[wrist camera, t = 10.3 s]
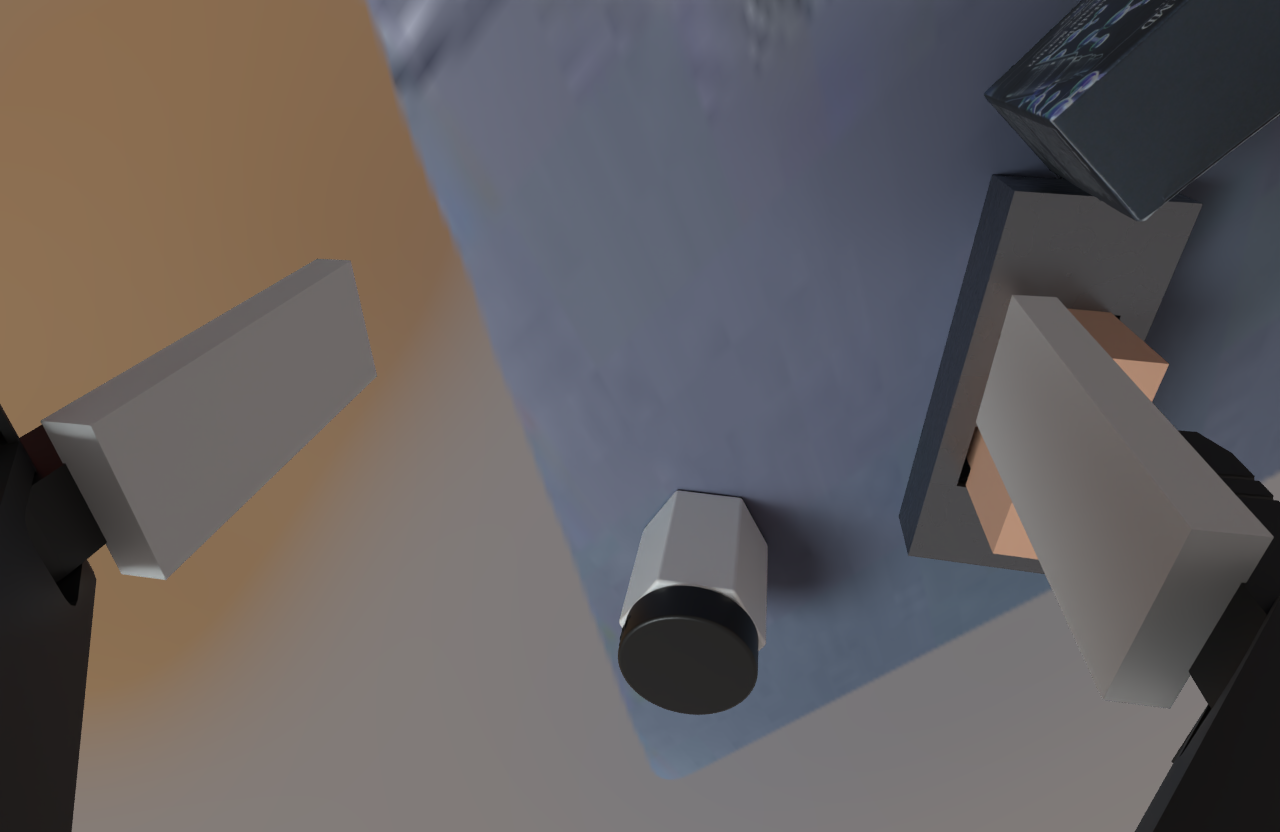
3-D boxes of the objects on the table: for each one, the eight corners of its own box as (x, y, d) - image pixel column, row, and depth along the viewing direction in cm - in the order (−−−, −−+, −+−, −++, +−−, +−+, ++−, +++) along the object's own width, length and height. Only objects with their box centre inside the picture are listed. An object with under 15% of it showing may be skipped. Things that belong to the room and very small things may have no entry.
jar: (626, 506, 50) (587, 631, 40) (729, 470, 47) (716, 595, 37) (682, 595, 54) (659, 731, 43) (782, 566, 51) (783, 706, 40)
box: (1132, -54, 31) (1280, -86, 22) (1208, 41, 32) (1379, 50, 23) (977, 94, 34) (1048, 121, 25) (1050, 175, 36) (1143, 228, 26)
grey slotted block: (992, 174, 36) (1014, 191, 32) (1161, 185, 35) (1203, 203, 31) (898, 516, 47) (908, 555, 43) (1025, 532, 46) (1045, 574, 42)
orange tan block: (1002, 279, 38) (1067, 354, 30) (1080, 285, 38) (1169, 363, 29) (950, 448, 44) (992, 553, 35) (1018, 456, 43) (1077, 564, 35)
